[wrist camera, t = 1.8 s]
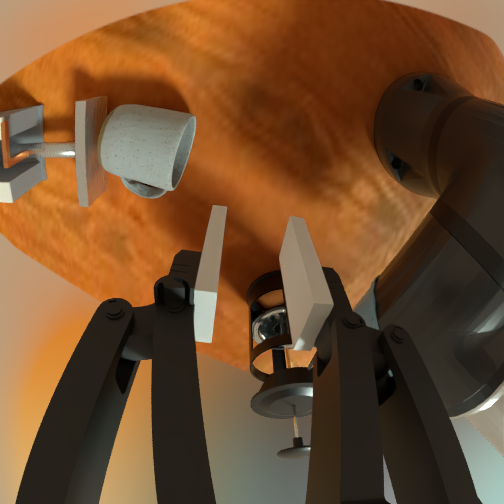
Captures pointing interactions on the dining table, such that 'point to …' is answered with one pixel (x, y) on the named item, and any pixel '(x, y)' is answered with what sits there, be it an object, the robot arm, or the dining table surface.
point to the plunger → (70, 148)
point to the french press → (278, 363)
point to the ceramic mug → (146, 147)
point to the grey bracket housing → (27, 170)
